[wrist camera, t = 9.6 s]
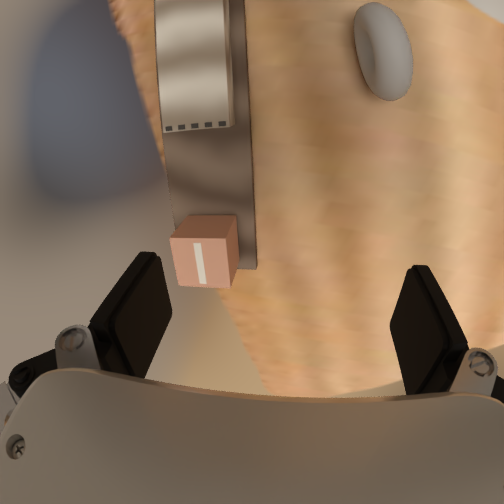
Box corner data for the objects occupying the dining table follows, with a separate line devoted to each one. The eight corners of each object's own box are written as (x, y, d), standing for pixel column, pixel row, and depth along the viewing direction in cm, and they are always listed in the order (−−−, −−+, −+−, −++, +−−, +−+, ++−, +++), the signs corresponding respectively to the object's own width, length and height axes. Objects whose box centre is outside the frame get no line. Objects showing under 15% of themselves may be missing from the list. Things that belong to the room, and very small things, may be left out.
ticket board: (157, -8, 23) (142, -17, 20) (242, -23, 22) (236, -36, 18) (184, 263, 41) (174, 280, 37) (257, 265, 40) (253, 283, 36)
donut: (343, 16, 23) (362, -12, 15) (373, 15, 22) (402, -11, 14) (362, 101, 28) (390, 104, 19) (391, 98, 27) (428, 102, 18)
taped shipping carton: (187, 215, 36) (169, 238, 31) (236, 215, 35) (225, 239, 30) (193, 258, 39) (178, 286, 33) (239, 259, 38) (230, 288, 33)
